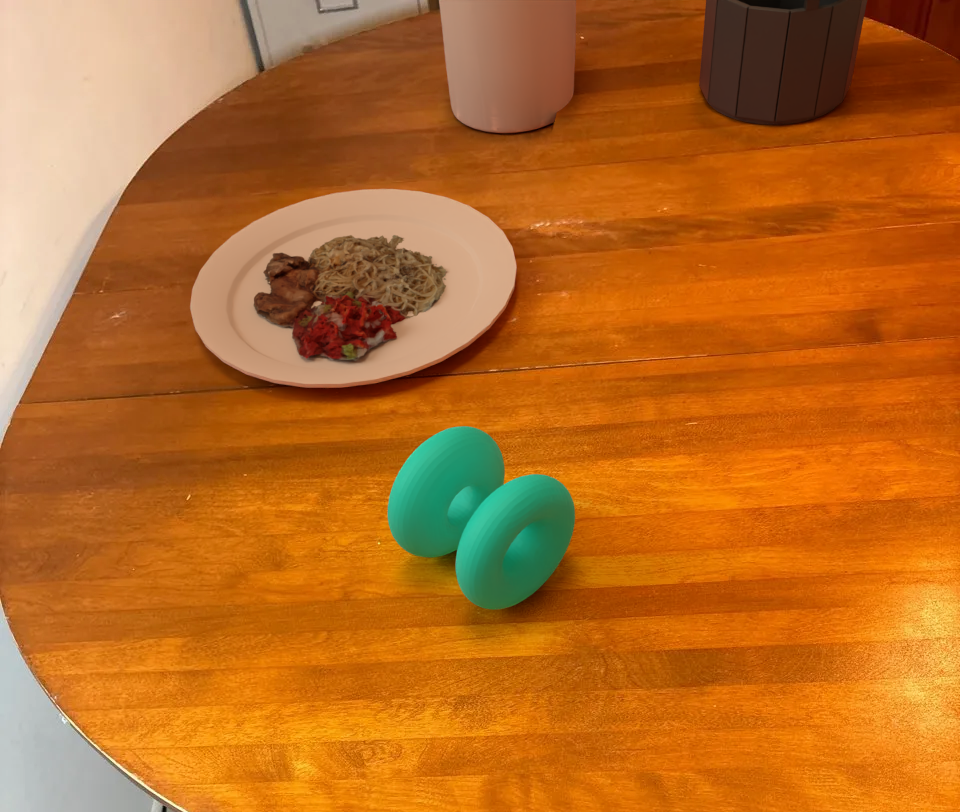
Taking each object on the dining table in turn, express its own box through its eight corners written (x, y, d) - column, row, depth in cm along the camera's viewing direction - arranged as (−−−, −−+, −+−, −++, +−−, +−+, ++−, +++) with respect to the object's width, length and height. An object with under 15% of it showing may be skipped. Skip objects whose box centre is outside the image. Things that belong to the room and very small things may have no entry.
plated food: (446, 176, 110) (443, 145, 107) (572, 335, 92) (572, 302, 90) (165, 259, 104) (154, 228, 102) (242, 444, 87) (231, 413, 84)
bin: (867, 116, 108) (899, -34, 97) (720, 135, 108) (735, -13, 97) (822, 48, 117) (846, -95, 107) (686, 66, 117) (696, -75, 107)
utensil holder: (510, 59, 124) (500, -115, 110) (607, 95, 117) (610, -87, 104) (420, 111, 119) (398, -66, 105) (517, 151, 112) (507, -33, 98)
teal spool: (488, 496, 81) (478, 393, 73) (584, 562, 76) (584, 460, 68) (390, 568, 77) (368, 468, 70) (483, 643, 73) (471, 544, 65)
